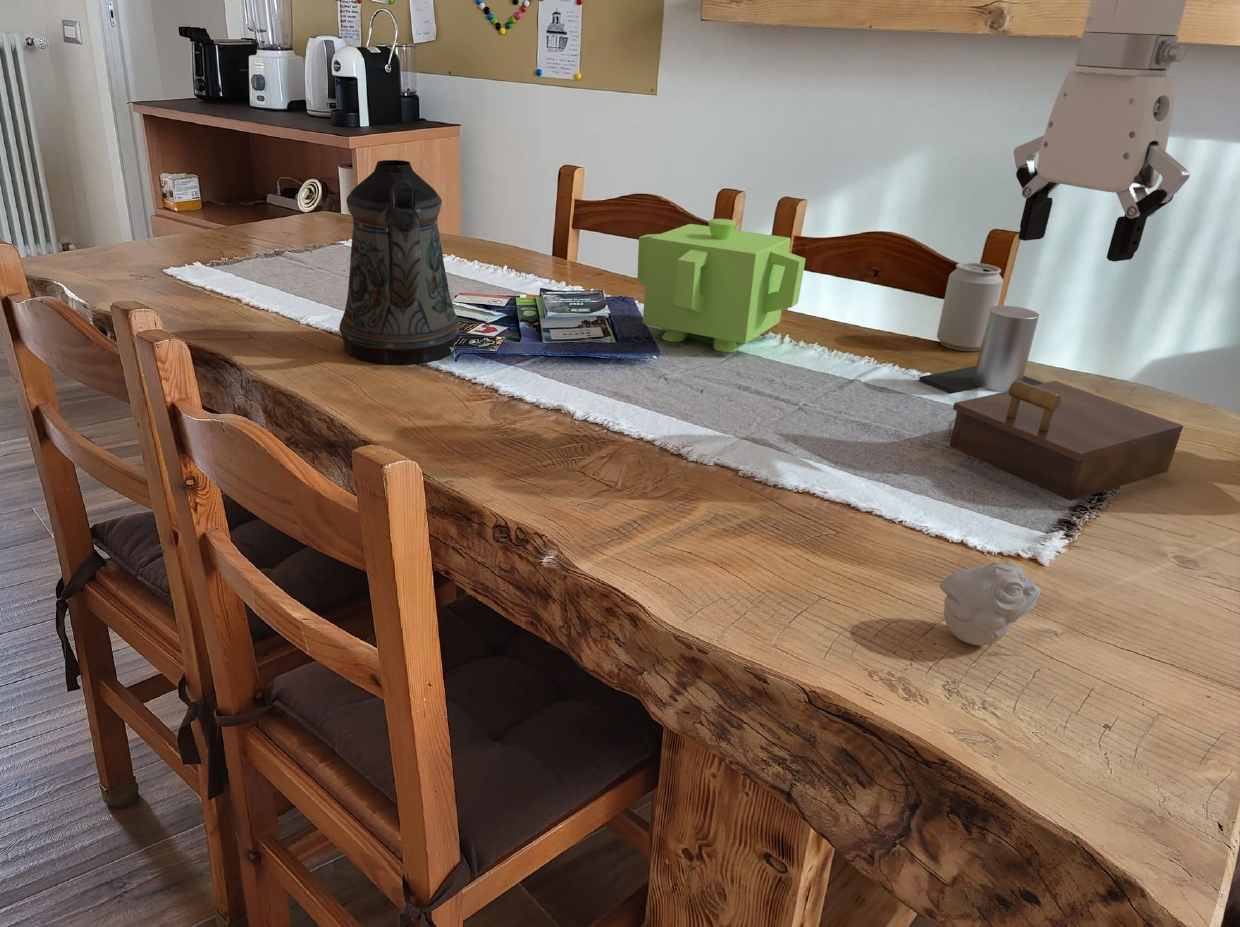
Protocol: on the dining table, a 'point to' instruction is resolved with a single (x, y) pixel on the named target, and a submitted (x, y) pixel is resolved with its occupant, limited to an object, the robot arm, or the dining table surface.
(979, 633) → the frog figurine
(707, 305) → the green square teapot
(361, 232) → the dark ornate jug
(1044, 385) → the lid
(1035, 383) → the mat
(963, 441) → the brown shallow square box
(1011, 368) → the steel canister
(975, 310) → the can
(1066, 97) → the robot arm
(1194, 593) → the dining table surface
